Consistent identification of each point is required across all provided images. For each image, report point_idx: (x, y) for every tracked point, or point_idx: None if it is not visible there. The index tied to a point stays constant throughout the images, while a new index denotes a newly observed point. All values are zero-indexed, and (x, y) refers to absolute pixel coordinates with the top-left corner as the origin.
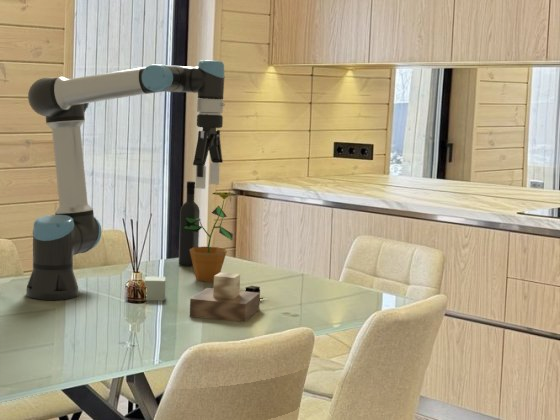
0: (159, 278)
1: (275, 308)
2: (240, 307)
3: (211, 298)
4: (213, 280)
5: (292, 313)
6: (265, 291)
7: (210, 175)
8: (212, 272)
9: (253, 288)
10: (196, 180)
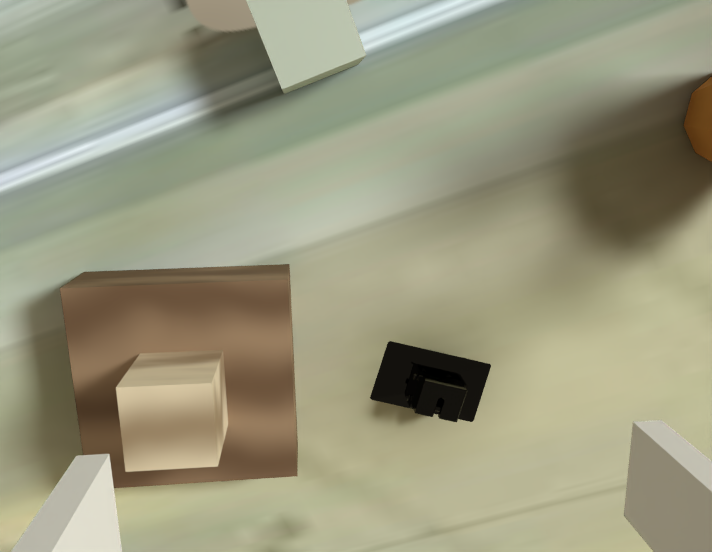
0: (320, 43)
1: (338, 482)
2: None
3: (108, 357)
4: (697, 153)
5: (294, 545)
6: (584, 381)
7: (698, 488)
8: (709, 152)
9: (416, 411)
10: (36, 523)
